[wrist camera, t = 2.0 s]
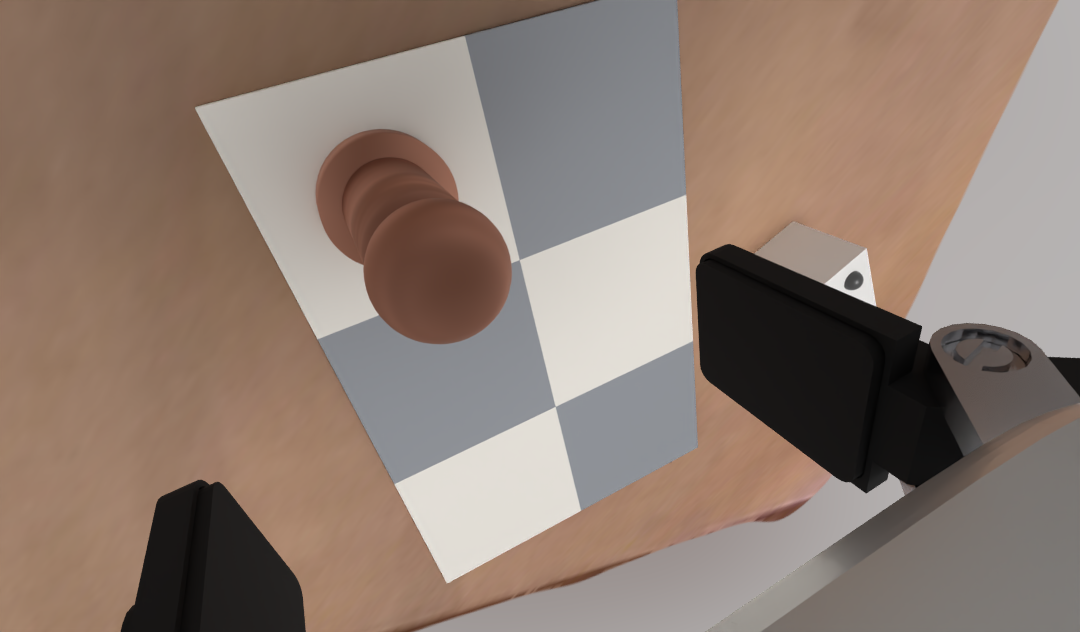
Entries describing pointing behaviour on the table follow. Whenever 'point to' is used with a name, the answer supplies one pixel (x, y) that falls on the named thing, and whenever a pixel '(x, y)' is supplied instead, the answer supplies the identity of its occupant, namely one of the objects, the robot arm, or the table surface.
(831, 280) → the die
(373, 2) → the table surface
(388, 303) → the pawn
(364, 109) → the board
